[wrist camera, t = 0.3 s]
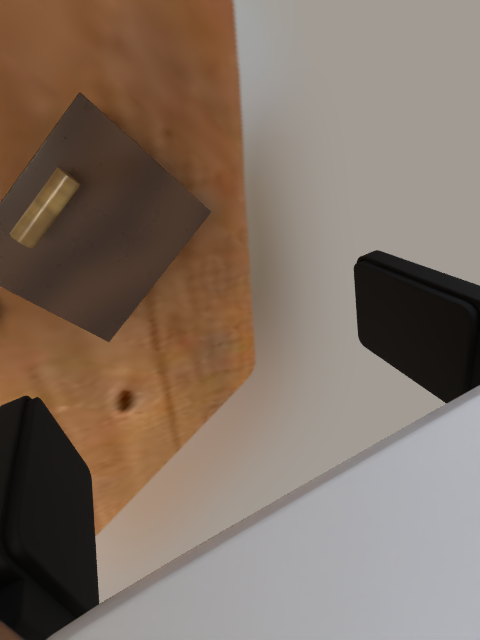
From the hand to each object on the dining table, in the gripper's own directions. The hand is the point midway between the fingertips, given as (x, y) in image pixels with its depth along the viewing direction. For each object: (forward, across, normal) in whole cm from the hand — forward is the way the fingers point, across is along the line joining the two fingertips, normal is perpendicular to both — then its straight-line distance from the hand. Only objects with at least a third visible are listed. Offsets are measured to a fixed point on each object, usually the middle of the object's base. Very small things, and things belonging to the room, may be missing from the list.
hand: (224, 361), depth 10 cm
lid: (+27, +3, +1) cm, 27 cm away
